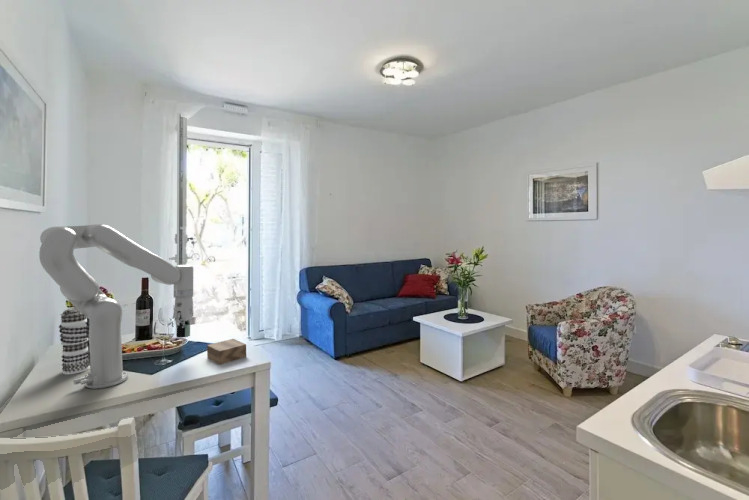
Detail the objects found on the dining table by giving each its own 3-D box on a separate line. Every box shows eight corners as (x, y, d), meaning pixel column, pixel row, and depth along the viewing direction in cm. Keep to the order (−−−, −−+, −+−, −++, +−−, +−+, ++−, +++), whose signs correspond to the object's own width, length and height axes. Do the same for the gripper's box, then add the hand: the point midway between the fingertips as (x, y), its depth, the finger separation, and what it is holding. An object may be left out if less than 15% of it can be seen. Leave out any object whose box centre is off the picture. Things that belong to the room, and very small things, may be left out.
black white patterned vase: (74, 365, 145) (71, 306, 143) (96, 365, 145) (94, 306, 144) (54, 374, 136) (51, 311, 134) (78, 374, 136) (75, 311, 134)
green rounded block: (180, 338, 147) (180, 327, 147) (174, 336, 150) (174, 325, 150) (192, 335, 151) (192, 325, 151) (186, 333, 154) (186, 323, 154)
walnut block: (219, 365, 147) (219, 351, 146) (207, 358, 154) (207, 345, 154) (246, 357, 156) (246, 344, 155) (233, 351, 163) (233, 338, 163)
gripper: (185, 296, 142) (185, 340, 143) (199, 290, 159) (198, 329, 160) (166, 296, 141) (165, 341, 141) (181, 290, 158) (181, 330, 158)
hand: (183, 334), depth 151 cm, fingers closed on green rounded block, 5 cm apart
